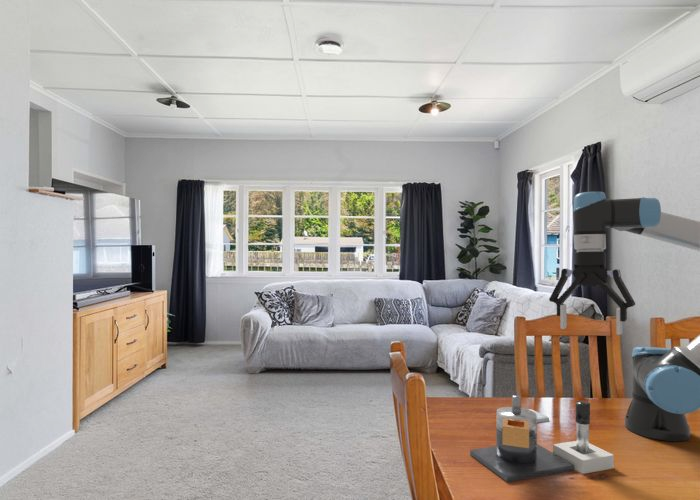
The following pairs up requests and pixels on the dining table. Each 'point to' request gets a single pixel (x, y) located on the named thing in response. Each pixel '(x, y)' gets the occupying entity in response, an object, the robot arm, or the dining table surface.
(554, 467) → the dark square base plate
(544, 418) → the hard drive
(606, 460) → the white flat square block
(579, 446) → the black and grey rod
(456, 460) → the dining table surface
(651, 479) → the dining table surface
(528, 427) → the grey and tan piece
